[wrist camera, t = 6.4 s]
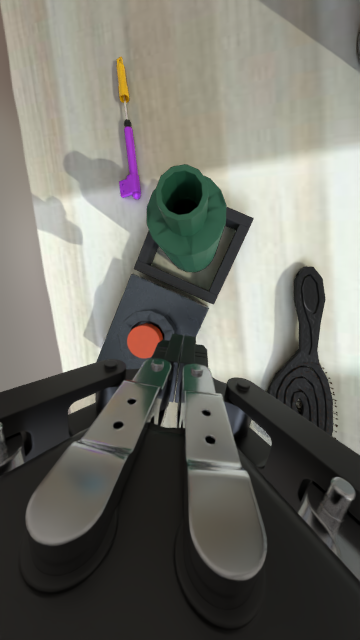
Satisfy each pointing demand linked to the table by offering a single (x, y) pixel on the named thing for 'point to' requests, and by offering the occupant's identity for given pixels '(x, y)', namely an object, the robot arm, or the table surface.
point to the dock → (241, 226)
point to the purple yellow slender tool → (128, 140)
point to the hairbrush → (307, 357)
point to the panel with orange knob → (150, 318)
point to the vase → (187, 217)
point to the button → (144, 340)
